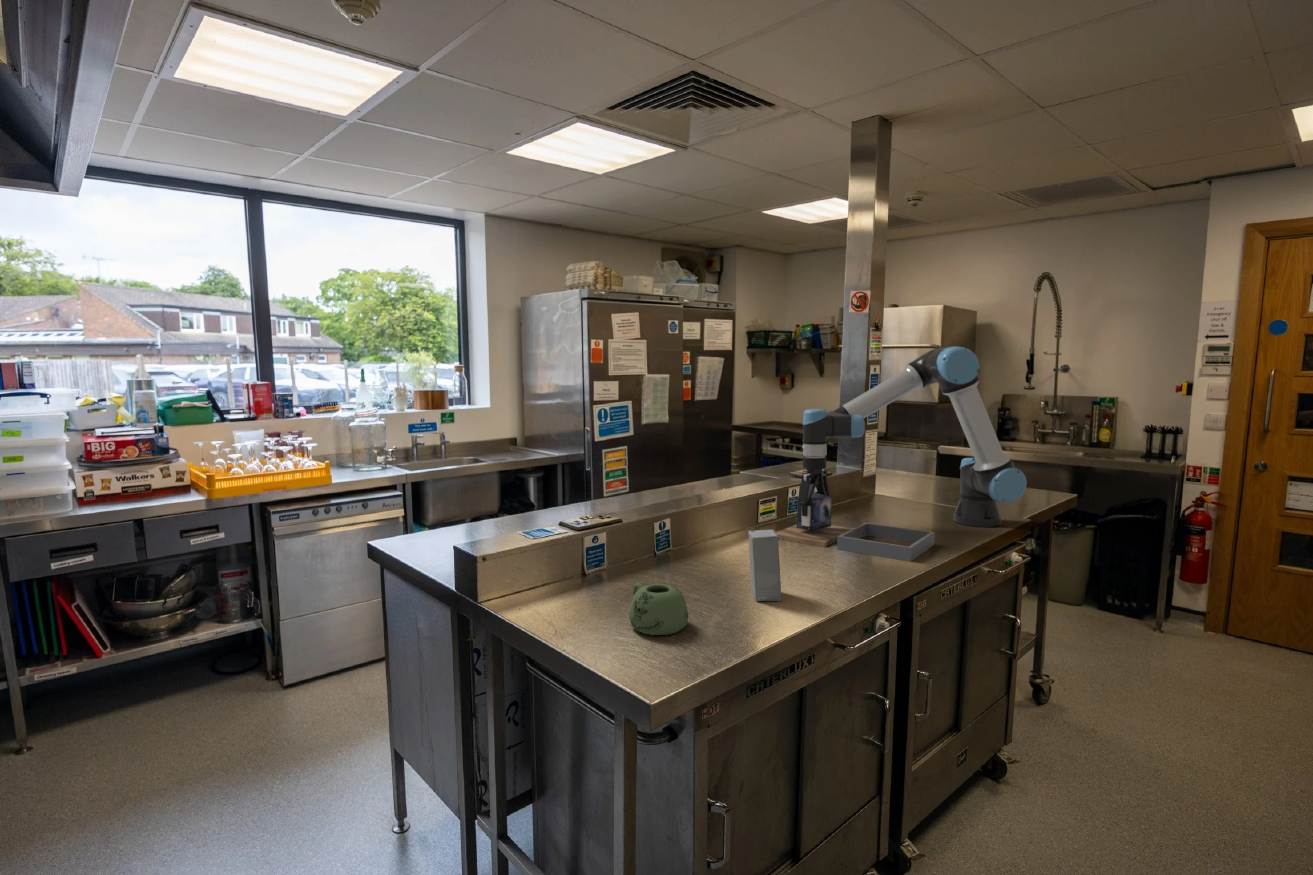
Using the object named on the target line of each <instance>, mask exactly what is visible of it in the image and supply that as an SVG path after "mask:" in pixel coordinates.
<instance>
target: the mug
mask: <svg viewBox="0 0 1313 875" xmlns="http://www.w3.org/2000/svg"><path fill="white" fill-rule="evenodd" d="M632 597H633V598H632V600H631V602H630V607H629V620H630V626H631V627H632V628H633V629H634V630H636V631H637V632H638V631H639V633H640V632H642V633H641V634H643V633H644V635H646V634H650V635H649V636H653V635H665V636H669V635H668V634H670V635H673V633H674V634H676V633H678V632H681V631H682V629H683V630H684V628H685V627H686V625H688V621H689V610H688V605H687V602H686V599H685V597H684V595H683V593H682V591H681V590H680V589H678V588H677V587H675V586H674V585H671V584H664V583H653V584H648V585H643V584H641V583H640V582H637V583H635V584H634V586H633V588H632Z"/></svg>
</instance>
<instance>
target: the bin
mask: <svg viewBox="0 0 1313 875" xmlns="http://www.w3.org/2000/svg"><path fill="white" fill-rule="evenodd" d="M852 528H853V529H851V530H849V531H847V532H845V533H843V534H841V535H839V536H837V541H836V543H837V544H836V550H840V551H846V552H852V553H856V554H864V555H869V556H876V557H880V558H887V559H894V560H899V561H904V562H905V561H906V562H912V561H914V560H915V559H916V558H918V557H919V556H921V555H922V554H923V553H925V552H927V551H928V550H930V549H931V548H932V547H933V546H935V538H936V537H935V535H936V534H935V533H936V532H935V531H929V530H922V529H921V530H920V529H914V528H908V527H901V526H893V525H887V524H886V525H885V524H878V523H872V522H871V523H870V522H864V523H862V524H859V525H857V526H855V527H852ZM867 536H868V537H873V538H874V537H875V538H880V539H881V538H882V539H888V540H893V539H894V540H895V541H901V542H908V543H909V542H910V543H912V544H910V545H909V546H906V545H901V544H894V543H888V542H881V541H875V540H868V539H863V538H865V537H867Z"/></svg>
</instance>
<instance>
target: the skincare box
mask: <svg viewBox="0 0 1313 875" xmlns="http://www.w3.org/2000/svg"><path fill="white" fill-rule="evenodd" d="M747 533H748V550H749V551H748V553H749V568H750V569H749V570H750V572H749V573H750V589H751V590H750V591H751V593H752V596H753V598H754V600H755V601H756V602H765V601H766V602H768V601H769V602H770V601H771V602H773V601H774V602H776V601H777V602H779V601H780V602H781V601H782V585H781V582H782V581H781V569H780V568H781V567H780V563H781V562H780V549H779V548H780V547H779V539H778V536H777V534H776V533H777V532H775V530H774V529H760V530H748V532H747Z"/></svg>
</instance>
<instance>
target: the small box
mask: <svg viewBox="0 0 1313 875" xmlns="http://www.w3.org/2000/svg"><path fill="white" fill-rule="evenodd" d="M832 498H833V497H832V495H830V496H829V495H824V494H819V493H818V492H815V493H812V496H811V500H810V503H809V506H810V526H803V525H802V506H800V505H798V499H799V496H797V497H796V501H797V502H796V524H797V528H801V529H805V530H809V531H812V530H817V529H821V528H825V527H830V526H831V525H832V504H833V503H832Z"/></svg>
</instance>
